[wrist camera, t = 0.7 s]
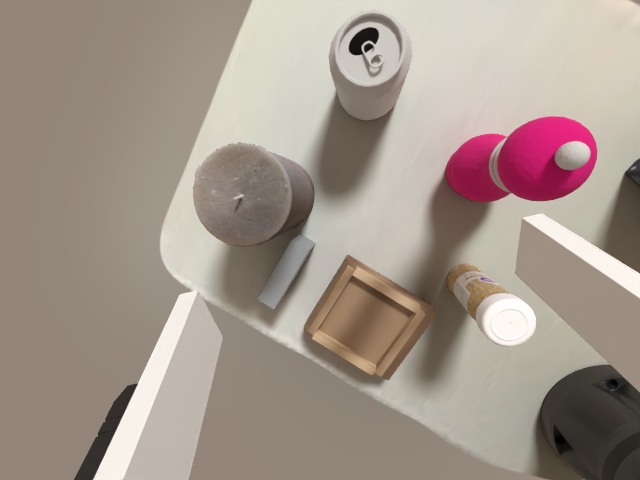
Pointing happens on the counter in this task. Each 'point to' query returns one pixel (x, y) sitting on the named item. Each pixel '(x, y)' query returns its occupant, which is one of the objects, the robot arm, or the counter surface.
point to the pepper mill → (524, 162)
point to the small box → (634, 172)
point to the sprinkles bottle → (492, 306)
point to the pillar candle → (250, 194)
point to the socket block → (368, 319)
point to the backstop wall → (286, 271)
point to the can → (370, 63)
